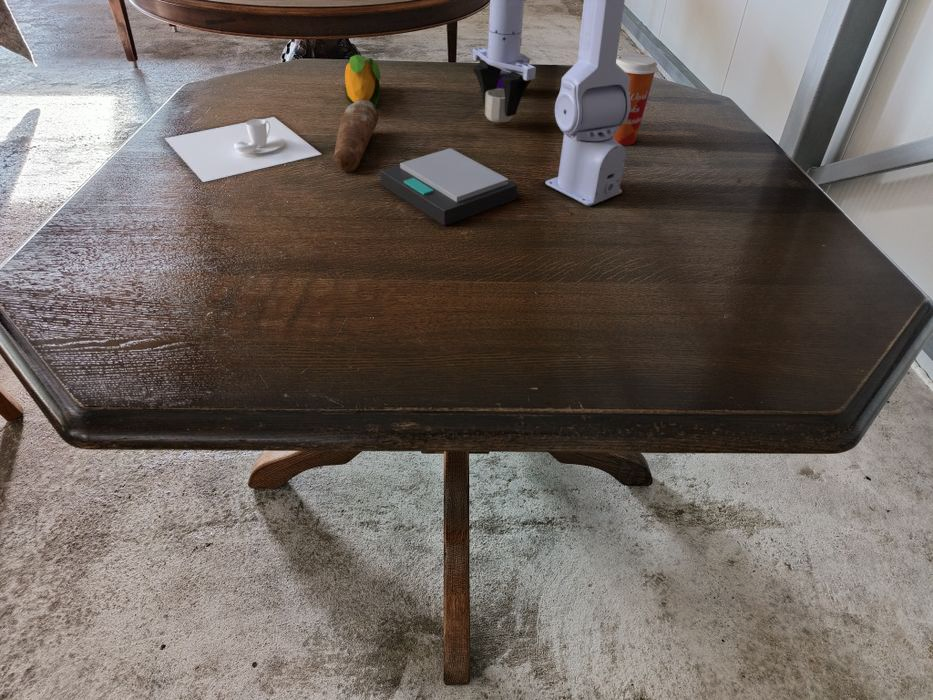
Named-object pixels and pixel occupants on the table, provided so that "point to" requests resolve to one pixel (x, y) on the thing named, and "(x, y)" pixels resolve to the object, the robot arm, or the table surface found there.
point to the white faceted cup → (496, 106)
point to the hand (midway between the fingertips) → (499, 110)
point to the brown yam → (354, 134)
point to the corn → (362, 80)
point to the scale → (448, 186)
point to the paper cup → (635, 92)
